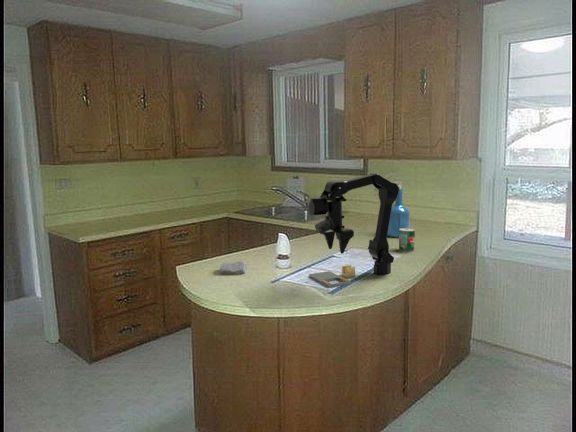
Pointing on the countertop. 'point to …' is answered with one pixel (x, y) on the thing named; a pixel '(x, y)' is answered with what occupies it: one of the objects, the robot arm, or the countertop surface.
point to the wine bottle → (398, 216)
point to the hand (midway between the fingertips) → (336, 251)
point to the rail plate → (329, 279)
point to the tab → (349, 277)
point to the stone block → (233, 268)
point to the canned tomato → (406, 239)
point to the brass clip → (348, 271)
